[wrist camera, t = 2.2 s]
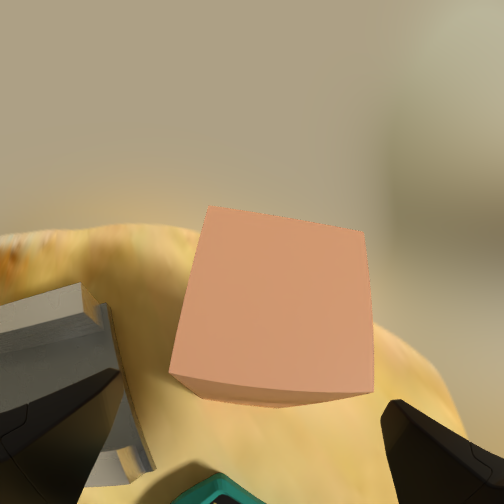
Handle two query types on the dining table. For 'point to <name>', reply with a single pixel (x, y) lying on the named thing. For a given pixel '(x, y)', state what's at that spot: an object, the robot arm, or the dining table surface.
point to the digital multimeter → (217, 492)
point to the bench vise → (70, 369)
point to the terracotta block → (275, 313)
